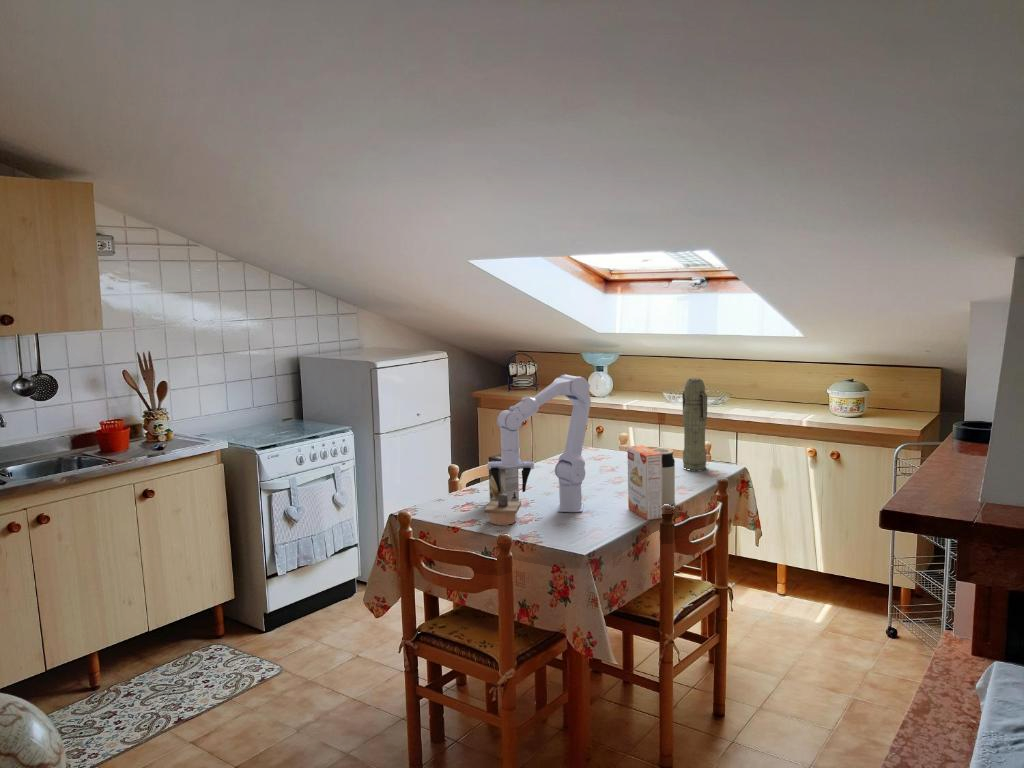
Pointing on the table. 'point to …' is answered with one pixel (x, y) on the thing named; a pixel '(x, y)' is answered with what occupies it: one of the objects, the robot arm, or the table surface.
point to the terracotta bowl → (502, 518)
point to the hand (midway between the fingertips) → (511, 491)
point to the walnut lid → (503, 505)
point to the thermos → (694, 424)
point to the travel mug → (667, 475)
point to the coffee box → (504, 482)
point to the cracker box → (645, 482)
